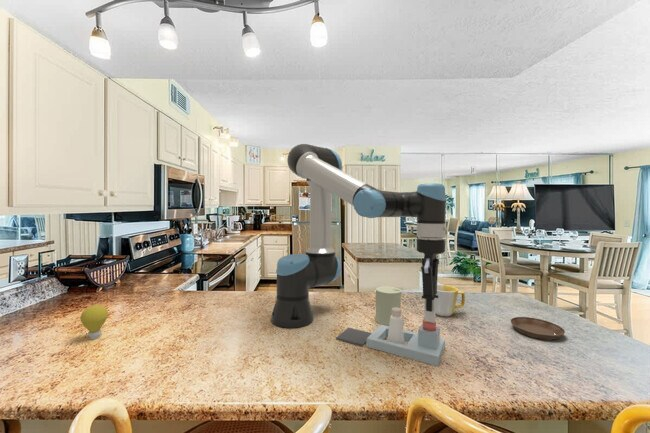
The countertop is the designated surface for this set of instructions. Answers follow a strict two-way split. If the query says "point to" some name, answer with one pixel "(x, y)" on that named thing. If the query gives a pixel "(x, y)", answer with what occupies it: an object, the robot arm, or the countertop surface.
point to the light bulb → (94, 320)
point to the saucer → (537, 328)
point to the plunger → (429, 326)
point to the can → (386, 303)
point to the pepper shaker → (396, 327)
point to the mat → (354, 336)
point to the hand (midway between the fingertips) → (429, 321)
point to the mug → (447, 300)
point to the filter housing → (411, 344)
